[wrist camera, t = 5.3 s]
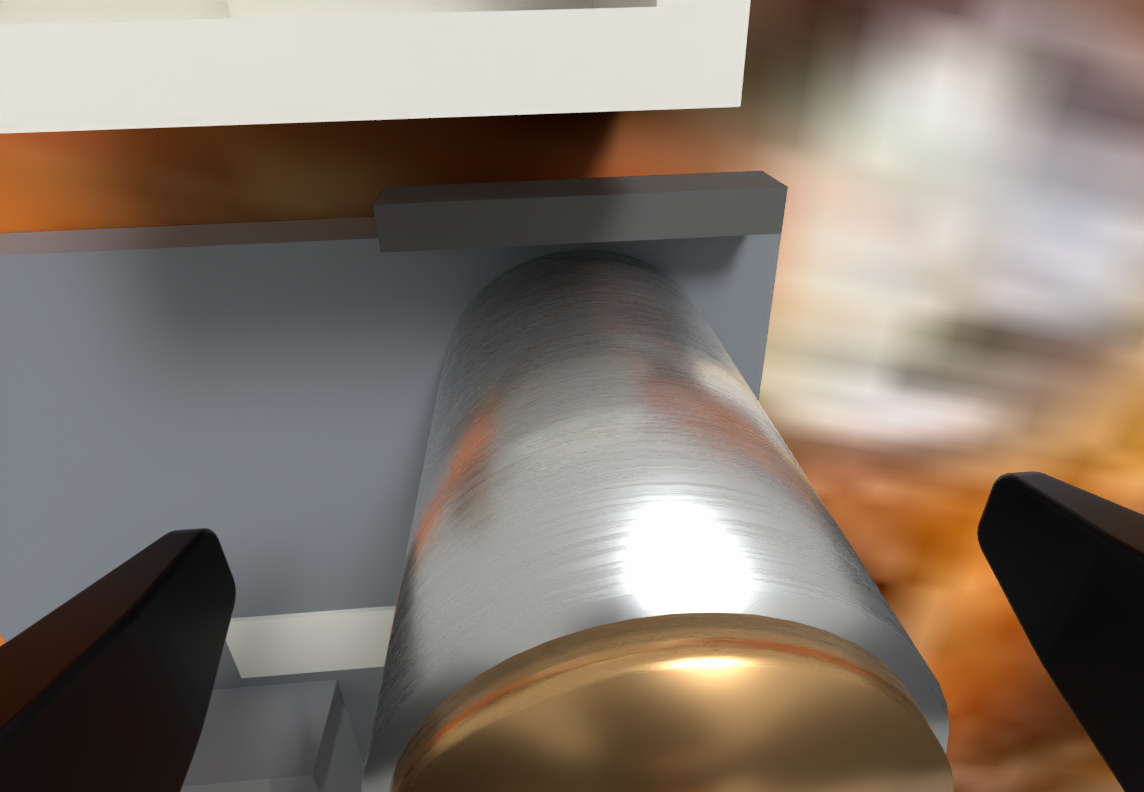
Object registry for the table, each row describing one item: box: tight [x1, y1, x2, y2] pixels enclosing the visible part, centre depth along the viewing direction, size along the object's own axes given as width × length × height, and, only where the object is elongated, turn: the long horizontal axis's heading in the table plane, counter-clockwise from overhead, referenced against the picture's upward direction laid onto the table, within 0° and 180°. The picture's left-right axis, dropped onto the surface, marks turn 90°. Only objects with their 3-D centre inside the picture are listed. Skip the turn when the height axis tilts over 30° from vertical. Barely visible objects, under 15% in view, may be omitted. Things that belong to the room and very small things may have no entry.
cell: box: [361, 250, 954, 792], centre depth 8 cm, size 4×4×7 cm
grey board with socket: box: [0, 171, 787, 792], centre depth 12 cm, size 14×16×3 cm
